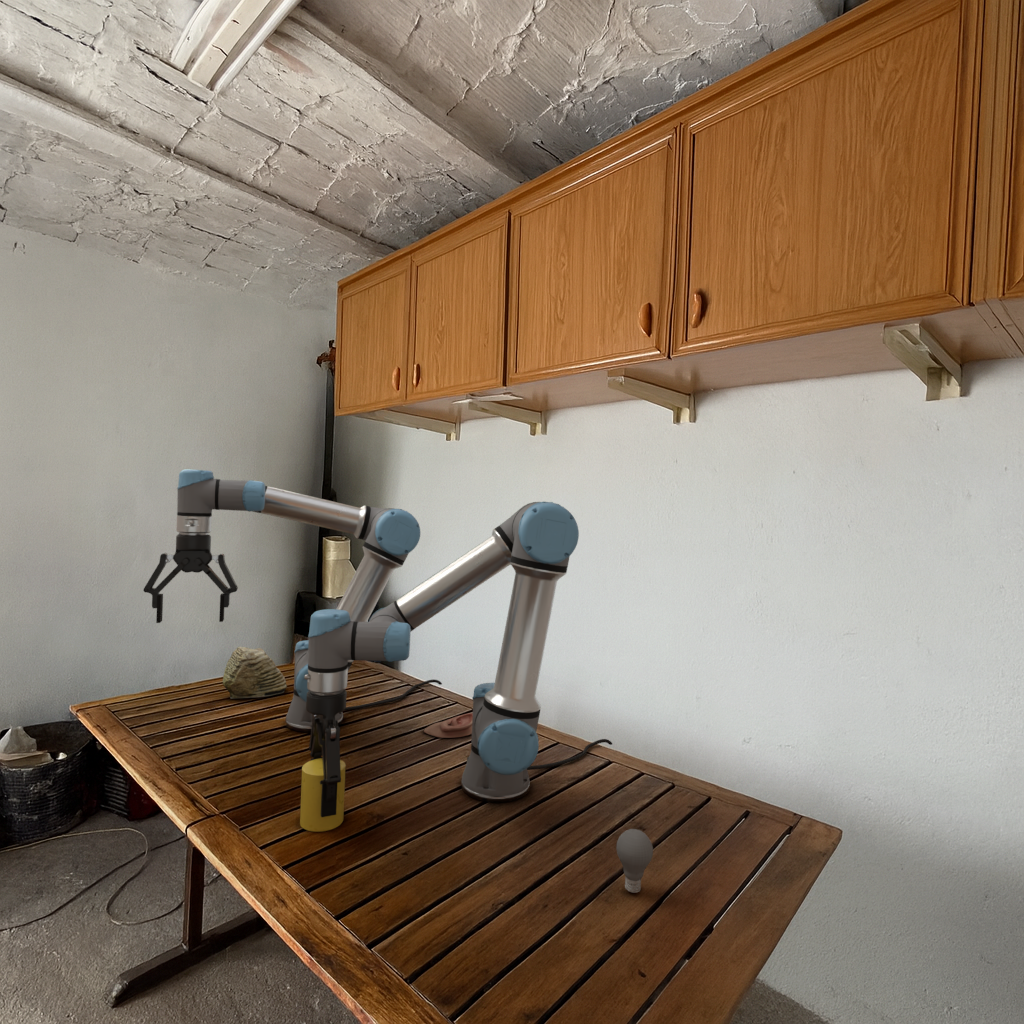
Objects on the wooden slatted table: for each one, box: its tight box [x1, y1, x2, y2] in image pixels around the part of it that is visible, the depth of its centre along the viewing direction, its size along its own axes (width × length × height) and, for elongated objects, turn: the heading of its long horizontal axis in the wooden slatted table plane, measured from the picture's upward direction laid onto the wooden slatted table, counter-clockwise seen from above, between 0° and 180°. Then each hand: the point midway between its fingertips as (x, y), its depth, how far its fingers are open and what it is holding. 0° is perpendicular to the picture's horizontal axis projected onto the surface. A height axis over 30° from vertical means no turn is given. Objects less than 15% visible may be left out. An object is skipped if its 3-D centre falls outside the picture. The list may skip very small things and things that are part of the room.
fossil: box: [222, 646, 288, 699], centre depth 198 cm, size 9×18×15 cm, turn 132°
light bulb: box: [615, 828, 654, 894], centre depth 106 cm, size 6×6×10 cm
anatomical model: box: [423, 712, 473, 739], centre depth 174 cm, size 13×4×12 cm
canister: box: [299, 758, 346, 833], centre depth 124 cm, size 8×8×11 cm
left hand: (190, 621), depth 153 cm, fingers open, 13 cm apart
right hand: (322, 802), depth 124 cm, fingers open, 10 cm apart
